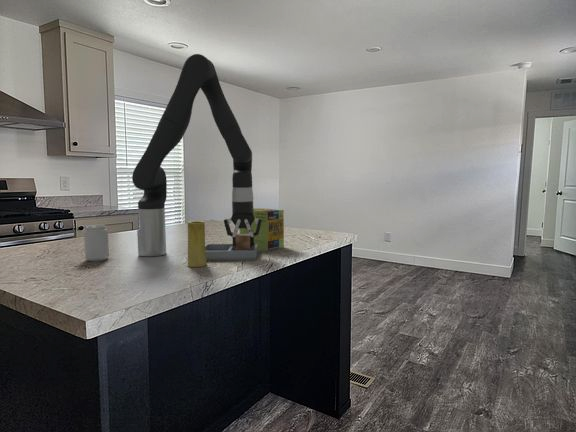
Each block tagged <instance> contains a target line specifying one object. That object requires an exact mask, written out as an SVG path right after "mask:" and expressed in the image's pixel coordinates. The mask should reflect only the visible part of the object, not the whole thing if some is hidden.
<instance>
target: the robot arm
mask: <svg viewBox="0 0 576 432" xmlns="http://www.w3.org/2000/svg"><path fill="white" fill-rule="evenodd" d="M200 89H201V92H203V94H204V96H205V98H206V101H207V102H208V105H209V108H210V110H211V111H210V112H211V115H212V117H213V120H214V122H215V125H216V127H217V129H218V131H219V133H220V135H221V137H222V139H223V140H224V142H225V145H226V147H227V150H228V151H229V154H230V157H231V158H232V162H233V163H232V167H233V173H232V176H231V177H232V181H231V182H232V190H231V209H232V211H231V213H232V215H231V217H230V218H224V219H223V222H224V223H223V224H224V227H225V232H226V234H227V236H230V237H231V238H232V244H233V246H234V247H236V235H237V234H238V230H240V229H241V228H245V229H246V228H247V229H248V231H249V234H250V247H252V246H253V245H254V236H256V235H258V234H259V230H260V226H261V222H262V219H258V218H255V217H254V215H253V209H254V192H253V190H254V189H253V175H252V169H253V168H252V166H253V152H252V149H251V147H250V145H249V144H248V142H247V140H246V138H245V137H244V135H243V133H242V130H241V127H240V125H239V123H238V120H237V118H236V117H235V114H234V113H233V110H232V109H231V107H230V105H229V102H228V101H227V99H226V97H225V94H224V91H223V88H222V87H221V84H220V81H219V77H218V75H217V70H216V67H215V64H214V63H213V62H212V61H211V59H208V58H207V57H206V56H205V55H204V54H200V53H194V54H193V53H192V54H191V55H189V56H188V57H187V58H186V60H185V61H184V63H183V66H182V69H181V72H180V74H179V78H178V81H177V83H176V86H175V88H174V91H173V92H172V95H171V97H170V98H169V101H168V103H167V105H166V107H165V109H164V111H163V114H162V116H161V117H160V120H159V121H158V123H157V126H156V129H155V131H154V133H153V134H152V137H151V139H150V141H149V143H148V145H147V147H146V149H145V151H144V153H143V155H142V156H141V157H140V159H139V161H138V162H137V164H136V166H135V168H134V170H133V172H132V176H131V178H132V184H133V186H134V187H135V188H136V189H138V190H141V191H143V195H142V197H141V198H140V199H139V200H138V202H137V211H138V212H137V213H138V229H137V230H136V232H137V233H136V236H137V254H138V255H137V256H138V257H139V256H142V257H159V256H163V255H166V254H167V235H166V234H167V233H166V213H165V212H166V209H165V204H166V201H167V189H168V187H167V185H168V184H167V182H168V181H167V175H166V171H165V170H164V168H163V167H162V166H161V165H162V164H163V161H164V160H165V158H166V157H167V156H168V155H169V154H170V152H172V150H174V148H176V147H177V146H178V145H179V143H180V142H181V140H183V137H184V135H185V133H186V131H187V129H188V127H189V124H190V121H191V116H192V112H193V106H194V103H195V99H196V96H197V95H198V93H199V91H200ZM253 221H255V222H256V224H257V228H256V232H253V230H252V227H251V224H252V223H253ZM231 222H232V223H233V224H234V226H235V227H234V229H233V231H232V230H231V226H230V224H232V223H231Z"/></svg>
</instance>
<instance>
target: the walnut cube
mask: <svg viewBox="0 0 576 432" xmlns="http://www.w3.org/2000/svg"><path fill="white" fill-rule="evenodd" d="M250 248H251V247H250V234H240V233H237V234H236V250H250Z"/></svg>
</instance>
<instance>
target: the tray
mask: <svg viewBox="0 0 576 432" xmlns="http://www.w3.org/2000/svg"><path fill="white" fill-rule="evenodd" d="M205 250H206V262H209V261H210V262H212V261H214V262H216V261H256V260H257V257H258V253H259V250H258V243H254V245H253V246H252V247H251V248H250V250H236V247H234V246H233V243H205Z"/></svg>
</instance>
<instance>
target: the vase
mask: <svg viewBox="0 0 576 432" xmlns="http://www.w3.org/2000/svg"><path fill="white" fill-rule="evenodd" d="M205 226H206V225H205V221H203V220H191V221H188V222H187V267H190V268H202V267H206V266H207V262H208V261H206V250H205V245H206V231H205V230H206V227H205Z"/></svg>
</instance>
